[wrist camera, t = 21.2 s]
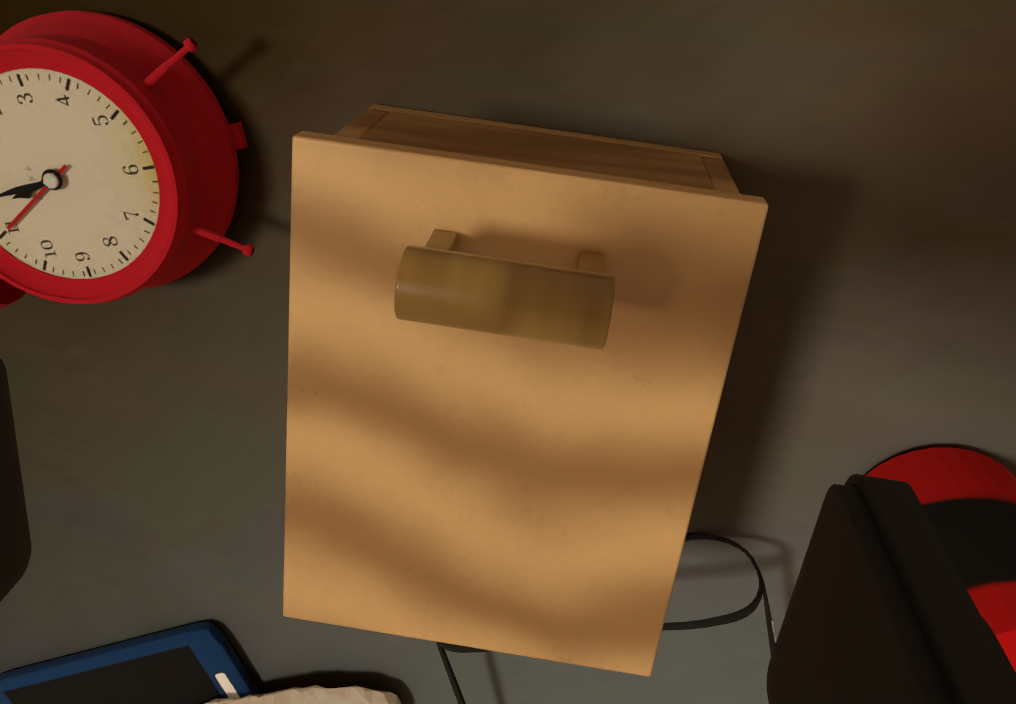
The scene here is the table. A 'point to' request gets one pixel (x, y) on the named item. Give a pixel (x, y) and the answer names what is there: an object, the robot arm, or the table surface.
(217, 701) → the stone
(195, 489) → the table surface
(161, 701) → the cell phone
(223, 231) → the alarm clock
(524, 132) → the chest
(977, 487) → the soda can
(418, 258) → the lid
